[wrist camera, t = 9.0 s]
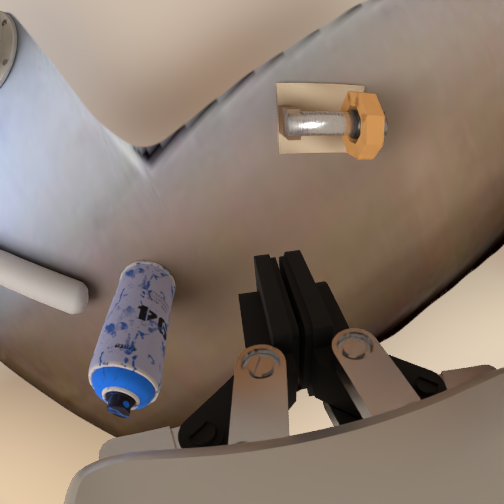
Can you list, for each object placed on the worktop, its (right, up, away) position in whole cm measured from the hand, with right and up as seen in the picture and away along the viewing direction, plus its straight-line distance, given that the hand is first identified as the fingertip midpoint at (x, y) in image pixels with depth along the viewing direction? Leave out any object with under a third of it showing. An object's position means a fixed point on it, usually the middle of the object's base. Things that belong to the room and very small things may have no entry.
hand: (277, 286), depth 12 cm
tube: (-35, 0, +26) cm, 44 cm away
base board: (+7, +16, +21) cm, 27 cm away
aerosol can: (-15, -3, +30) cm, 33 cm away
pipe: (+7, +14, +18) cm, 24 cm away
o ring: (+10, +16, +19) cm, 27 cm away
